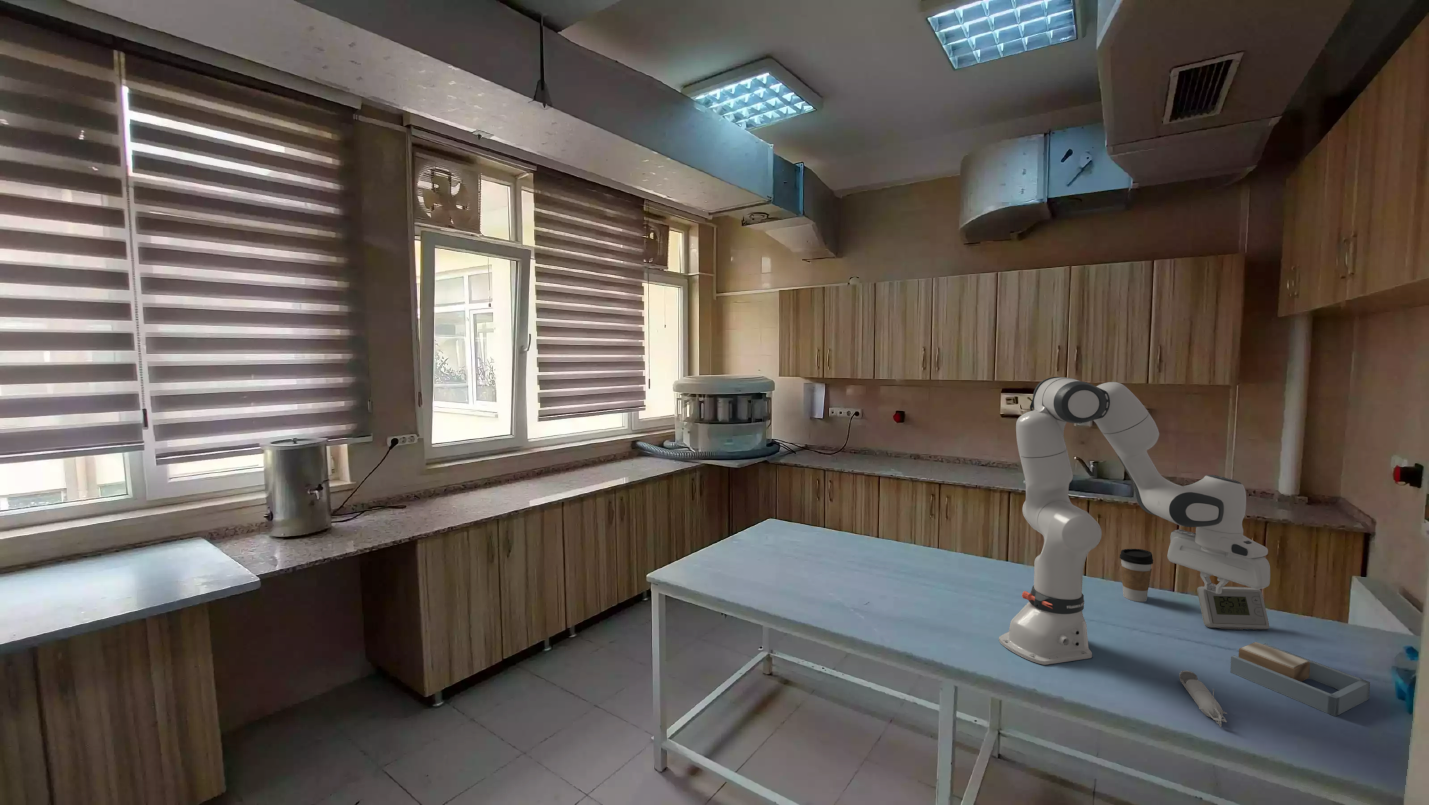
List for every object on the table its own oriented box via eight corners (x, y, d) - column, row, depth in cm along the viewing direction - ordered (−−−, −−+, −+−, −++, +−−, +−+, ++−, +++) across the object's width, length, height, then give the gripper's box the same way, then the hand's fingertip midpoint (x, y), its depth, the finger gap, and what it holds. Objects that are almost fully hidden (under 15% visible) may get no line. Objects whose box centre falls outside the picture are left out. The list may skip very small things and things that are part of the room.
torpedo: (1172, 680, 132) (1173, 653, 131) (1197, 683, 130) (1198, 657, 129) (1206, 727, 115) (1208, 698, 114) (1235, 733, 113) (1237, 702, 113)
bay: (1335, 716, 117) (1336, 698, 116) (1230, 672, 134) (1231, 656, 133) (1369, 699, 122) (1370, 682, 122) (1264, 658, 139) (1264, 643, 138)
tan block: (1293, 690, 126) (1294, 668, 125) (1238, 668, 135) (1239, 647, 135) (1308, 682, 129) (1310, 661, 128) (1253, 661, 138) (1254, 641, 137)
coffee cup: (1157, 604, 169) (1159, 557, 168) (1126, 602, 171) (1128, 555, 170) (1142, 592, 177) (1144, 547, 176) (1113, 591, 179) (1114, 546, 178)
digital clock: (1203, 628, 154) (1205, 592, 153) (1188, 614, 163) (1189, 579, 162) (1277, 637, 149) (1280, 599, 148) (1258, 621, 157) (1260, 585, 156)
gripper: (1164, 528, 149) (1159, 577, 150) (1262, 554, 130) (1255, 610, 131) (1178, 525, 151) (1174, 574, 152) (1276, 551, 132) (1270, 606, 133)
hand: (1212, 591), depth 141 cm, fingers closed
